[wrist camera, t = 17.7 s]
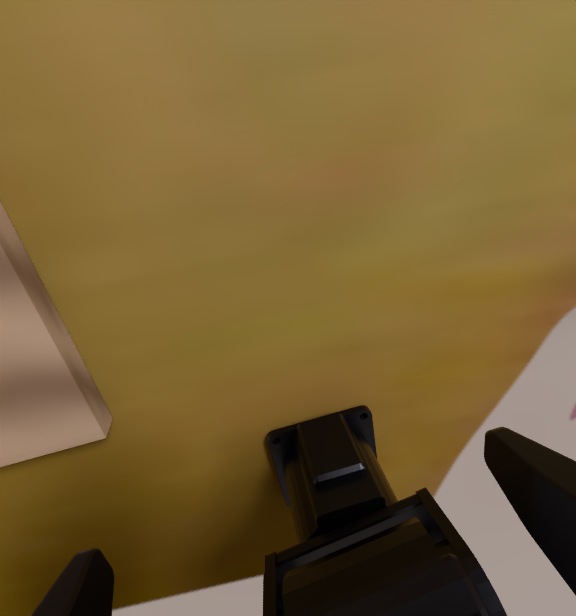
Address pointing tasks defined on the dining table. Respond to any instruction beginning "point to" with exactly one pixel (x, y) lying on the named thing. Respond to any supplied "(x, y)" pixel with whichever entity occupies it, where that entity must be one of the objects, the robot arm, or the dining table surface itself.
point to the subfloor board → (39, 366)
